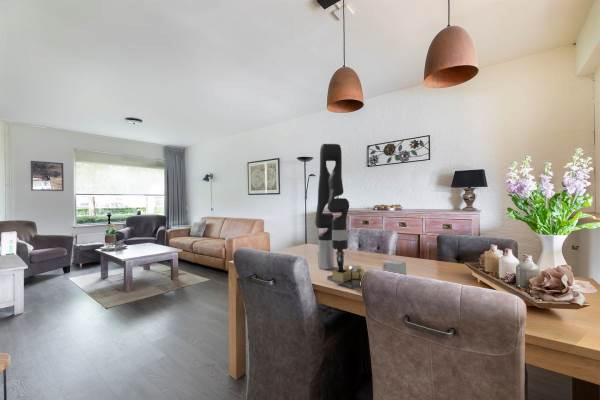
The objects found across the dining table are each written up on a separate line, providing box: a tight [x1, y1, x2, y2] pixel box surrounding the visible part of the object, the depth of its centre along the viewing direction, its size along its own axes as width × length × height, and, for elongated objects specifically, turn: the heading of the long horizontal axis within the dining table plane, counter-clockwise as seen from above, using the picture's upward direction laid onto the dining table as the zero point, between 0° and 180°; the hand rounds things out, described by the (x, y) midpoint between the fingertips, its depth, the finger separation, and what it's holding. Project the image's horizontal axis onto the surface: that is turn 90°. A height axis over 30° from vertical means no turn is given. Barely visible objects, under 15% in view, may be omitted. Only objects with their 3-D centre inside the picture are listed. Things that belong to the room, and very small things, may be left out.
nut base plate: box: [326, 265, 361, 290], centre depth 132 cm, size 18×17×6 cm
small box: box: [382, 259, 407, 276], centre depth 116 cm, size 8×6×13 cm
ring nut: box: [331, 265, 365, 282], centre depth 131 cm, size 18×10×4 cm, turn 134°
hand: (341, 274), depth 128 cm, fingers closed
